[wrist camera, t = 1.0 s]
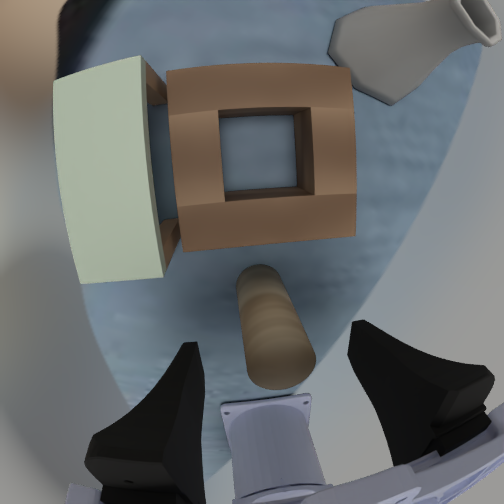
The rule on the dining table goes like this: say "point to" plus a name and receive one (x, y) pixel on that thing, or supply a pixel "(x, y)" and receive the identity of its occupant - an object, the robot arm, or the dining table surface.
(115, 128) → the bench
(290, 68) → the socket
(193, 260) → the dining table surface
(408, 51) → the flask
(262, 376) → the peg
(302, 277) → the dining table surface
